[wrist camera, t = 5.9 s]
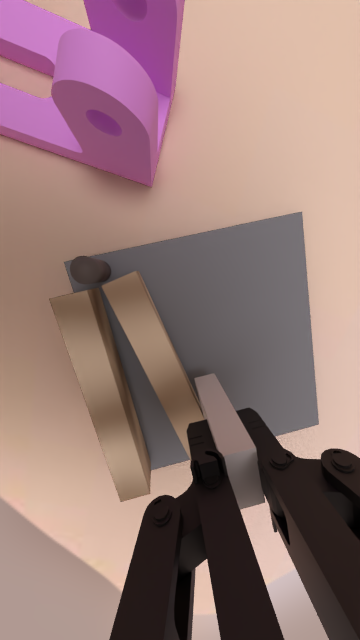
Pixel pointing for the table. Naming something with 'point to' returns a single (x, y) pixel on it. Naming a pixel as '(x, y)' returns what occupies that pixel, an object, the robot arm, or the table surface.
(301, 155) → the table surface
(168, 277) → the mat
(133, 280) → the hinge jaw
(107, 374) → the tongs base
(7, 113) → the bracket
